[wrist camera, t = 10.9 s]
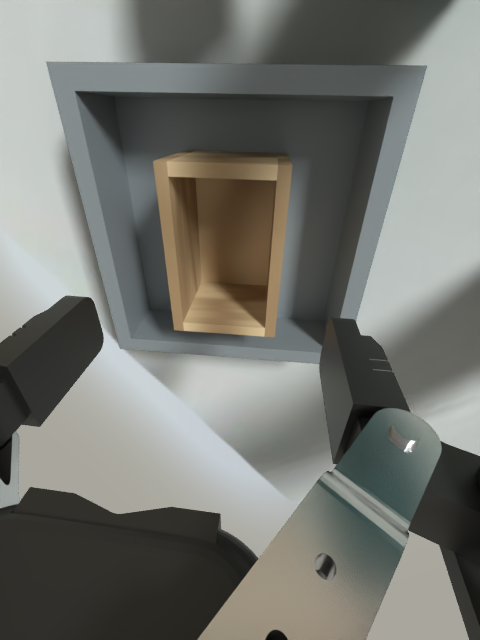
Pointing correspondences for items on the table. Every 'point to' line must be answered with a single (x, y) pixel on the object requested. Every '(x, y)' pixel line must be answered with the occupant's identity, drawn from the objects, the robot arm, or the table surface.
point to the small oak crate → (224, 238)
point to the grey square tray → (237, 136)
